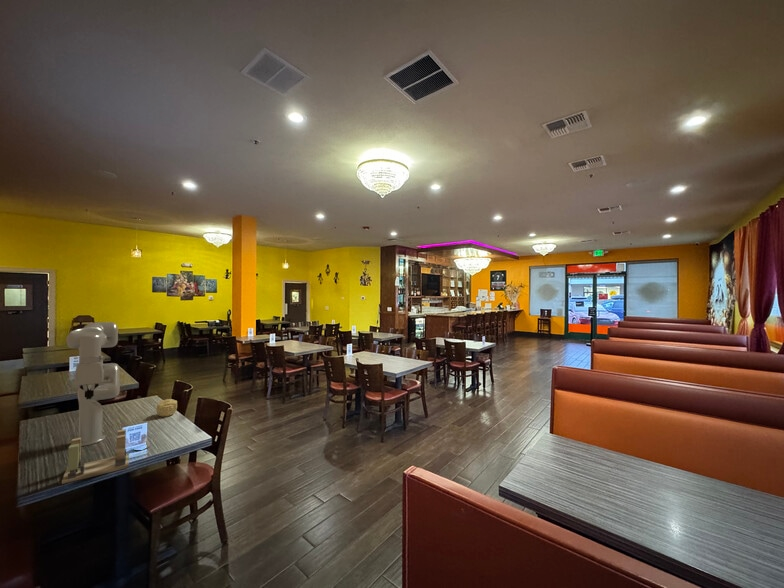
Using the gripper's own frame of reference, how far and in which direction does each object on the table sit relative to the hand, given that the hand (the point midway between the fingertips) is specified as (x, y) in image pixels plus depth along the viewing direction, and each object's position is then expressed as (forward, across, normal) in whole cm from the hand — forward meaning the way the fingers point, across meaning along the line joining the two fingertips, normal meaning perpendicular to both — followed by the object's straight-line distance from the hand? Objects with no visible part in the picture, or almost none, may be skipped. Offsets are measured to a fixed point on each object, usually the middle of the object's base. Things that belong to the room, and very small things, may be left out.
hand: (89, 398), depth 154 cm
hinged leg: (+28, +3, +14) cm, 32 cm away
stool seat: (+31, -5, +10) cm, 33 cm away
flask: (+32, -20, -5) cm, 38 cm away
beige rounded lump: (+33, -33, -55) cm, 72 cm away
